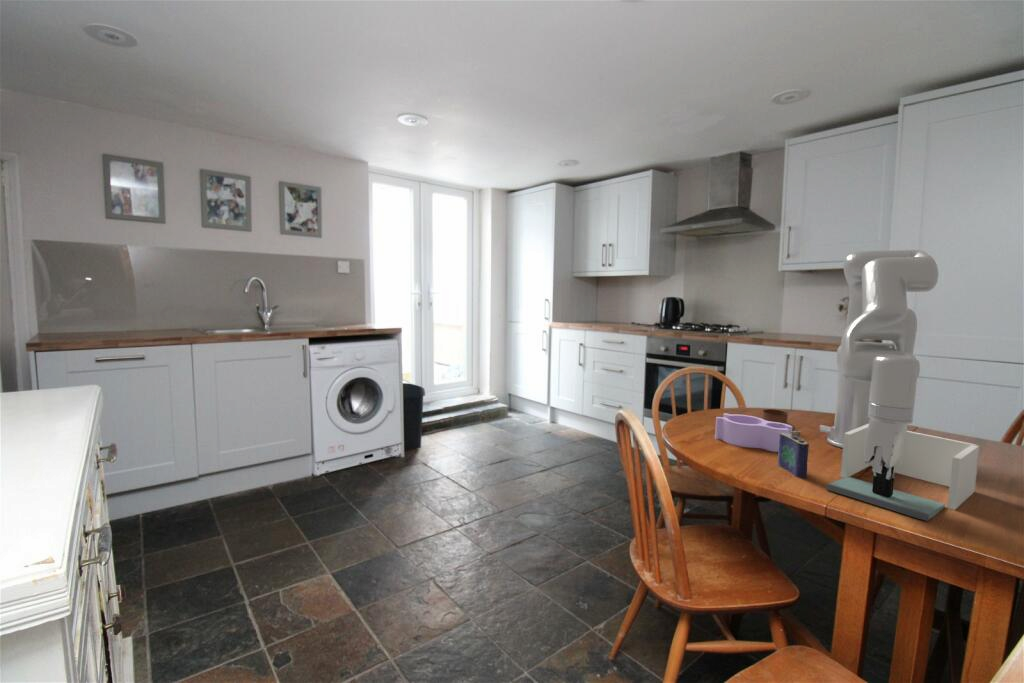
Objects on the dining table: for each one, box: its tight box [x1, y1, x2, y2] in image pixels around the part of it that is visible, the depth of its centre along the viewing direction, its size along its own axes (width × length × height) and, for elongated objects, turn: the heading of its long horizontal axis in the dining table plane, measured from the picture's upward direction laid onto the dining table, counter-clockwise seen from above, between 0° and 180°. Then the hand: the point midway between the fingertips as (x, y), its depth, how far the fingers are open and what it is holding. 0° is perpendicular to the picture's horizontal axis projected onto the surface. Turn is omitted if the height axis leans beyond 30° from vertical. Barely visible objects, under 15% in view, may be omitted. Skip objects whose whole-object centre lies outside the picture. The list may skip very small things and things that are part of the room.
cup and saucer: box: [762, 408, 796, 431], centre depth 158 cm, size 12×12×6 cm
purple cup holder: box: [714, 412, 792, 453], centre depth 143 cm, size 20×12×7 cm, turn 47°
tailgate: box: [826, 476, 946, 522], centre depth 103 cm, size 1×18×12 cm
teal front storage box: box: [839, 424, 981, 511], centre depth 111 cm, size 16×21×12 cm
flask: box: [776, 430, 810, 480], centre depth 118 cm, size 10×3×12 cm, turn 1°
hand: (882, 494), depth 102 cm, fingers closed
